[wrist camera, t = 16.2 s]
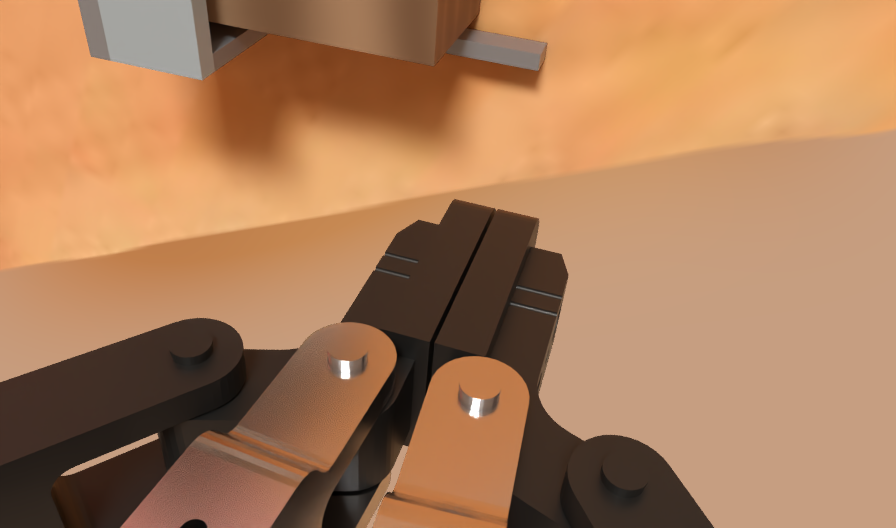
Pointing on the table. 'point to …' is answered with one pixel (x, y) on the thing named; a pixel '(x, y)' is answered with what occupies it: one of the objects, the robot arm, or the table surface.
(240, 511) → the robot arm
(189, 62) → the socket end cap
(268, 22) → the walnut slat
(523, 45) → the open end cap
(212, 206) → the table surface
